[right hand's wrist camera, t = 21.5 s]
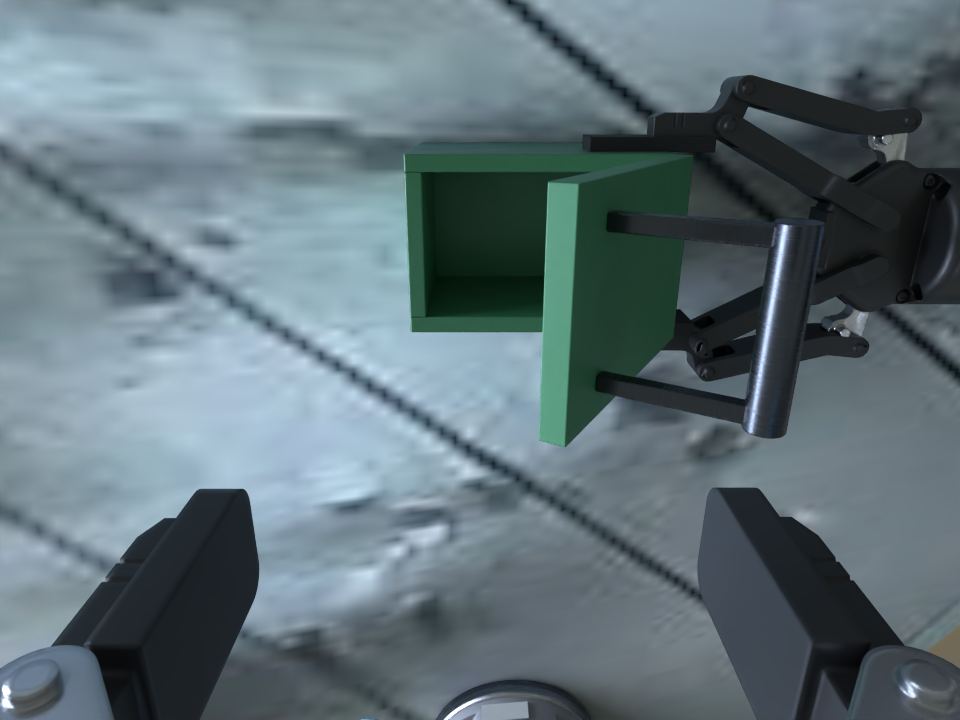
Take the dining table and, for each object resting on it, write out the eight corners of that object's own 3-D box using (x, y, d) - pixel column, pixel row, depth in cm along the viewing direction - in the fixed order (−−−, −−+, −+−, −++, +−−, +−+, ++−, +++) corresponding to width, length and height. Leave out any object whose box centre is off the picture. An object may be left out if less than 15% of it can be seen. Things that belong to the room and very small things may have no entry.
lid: (538, 440, 25) (766, 502, 21) (547, 181, 21) (822, 198, 17) (652, 334, 36) (814, 362, 32) (670, 154, 32) (854, 161, 29)
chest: (424, 285, 45) (410, 332, 36) (420, 142, 42) (403, 153, 33) (622, 285, 45) (660, 332, 36) (634, 142, 42) (678, 154, 33)
